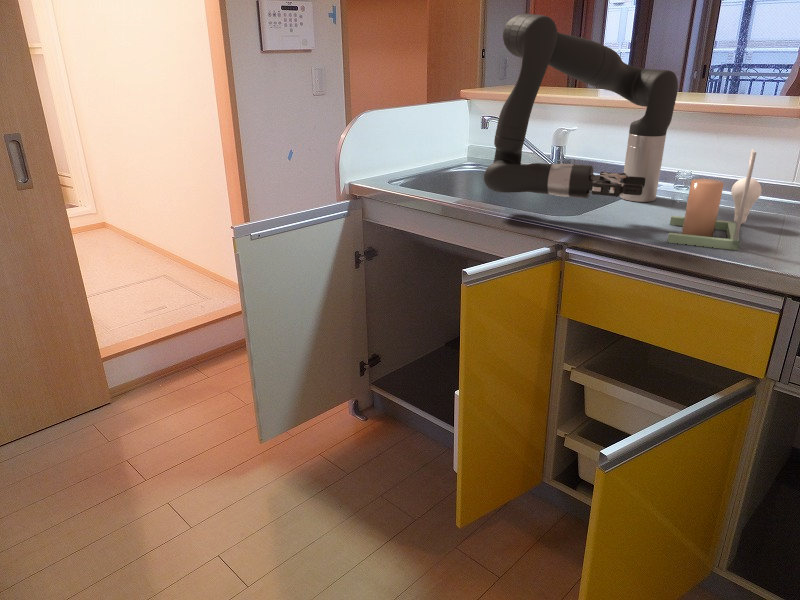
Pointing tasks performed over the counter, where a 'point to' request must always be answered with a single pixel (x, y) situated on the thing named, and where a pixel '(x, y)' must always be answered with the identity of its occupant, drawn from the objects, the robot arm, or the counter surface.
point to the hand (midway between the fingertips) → (643, 186)
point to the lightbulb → (751, 198)
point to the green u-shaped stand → (729, 226)
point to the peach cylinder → (702, 207)
